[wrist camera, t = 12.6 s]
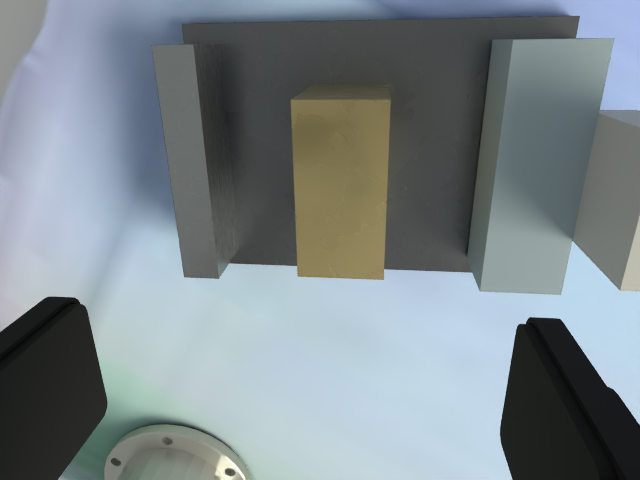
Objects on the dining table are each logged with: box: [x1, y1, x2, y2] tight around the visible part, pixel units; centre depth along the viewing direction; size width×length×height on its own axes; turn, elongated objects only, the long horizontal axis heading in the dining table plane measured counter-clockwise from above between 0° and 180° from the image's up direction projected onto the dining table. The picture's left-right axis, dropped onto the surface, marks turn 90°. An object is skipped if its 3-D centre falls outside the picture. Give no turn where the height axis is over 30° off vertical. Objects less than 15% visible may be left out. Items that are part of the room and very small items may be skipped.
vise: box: [151, 16, 580, 279], centre depth 25 cm, size 14×20×5 cm
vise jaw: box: [467, 38, 640, 295], centre depth 22 cm, size 12×6×9 cm, turn 1°
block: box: [291, 84, 391, 280], centre depth 24 cm, size 8×4×7 cm, turn 1°
